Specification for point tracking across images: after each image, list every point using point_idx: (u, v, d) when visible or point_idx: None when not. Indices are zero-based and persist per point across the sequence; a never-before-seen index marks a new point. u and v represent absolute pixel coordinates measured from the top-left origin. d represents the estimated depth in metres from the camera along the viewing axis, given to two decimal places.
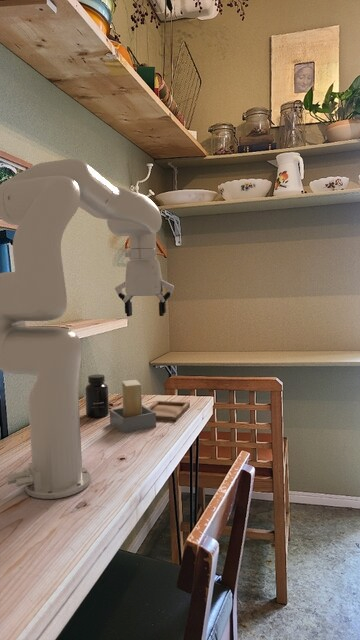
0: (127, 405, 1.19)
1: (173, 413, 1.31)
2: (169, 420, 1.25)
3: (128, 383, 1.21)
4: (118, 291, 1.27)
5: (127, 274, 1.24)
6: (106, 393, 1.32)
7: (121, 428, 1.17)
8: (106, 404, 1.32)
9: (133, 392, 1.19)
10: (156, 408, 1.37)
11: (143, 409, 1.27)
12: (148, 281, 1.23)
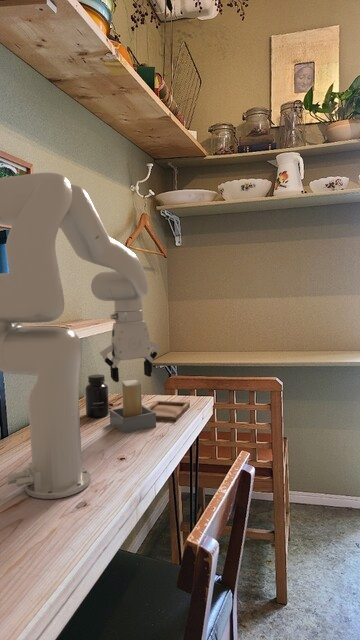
0: (127, 405, 1.19)
1: (173, 413, 1.31)
2: (169, 420, 1.25)
3: (128, 383, 1.21)
4: (105, 356, 1.17)
5: (119, 338, 1.17)
6: (106, 393, 1.32)
7: (121, 428, 1.17)
8: (106, 404, 1.32)
9: (133, 392, 1.19)
10: (156, 408, 1.37)
11: (143, 409, 1.27)
12: (141, 343, 1.20)
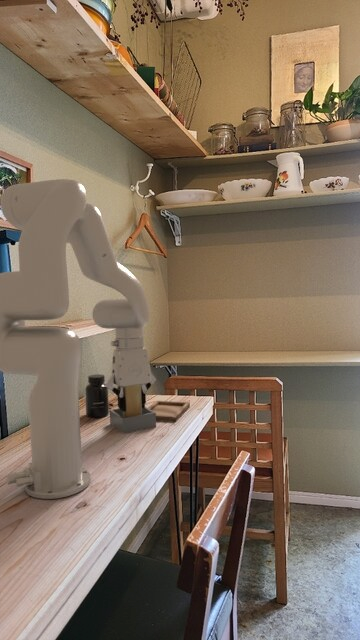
0: (127, 405, 1.19)
1: (173, 413, 1.31)
2: (169, 420, 1.25)
3: None
4: (111, 387, 1.19)
5: (120, 365, 1.17)
6: (106, 393, 1.32)
7: (121, 428, 1.17)
8: (106, 404, 1.32)
9: (133, 392, 1.19)
10: (156, 408, 1.37)
11: (143, 409, 1.27)
12: (141, 370, 1.20)
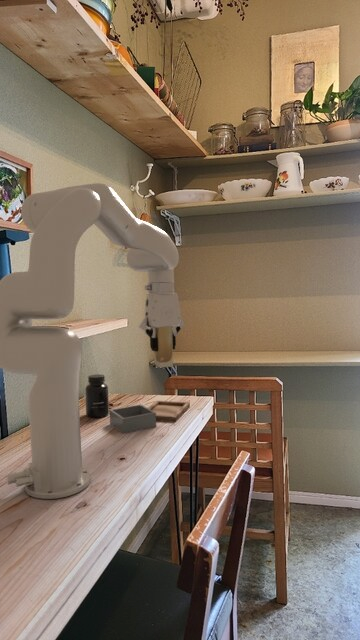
0: (159, 345, 1.28)
1: (173, 413, 1.31)
2: (169, 420, 1.25)
3: None
4: (145, 328, 1.28)
5: (153, 307, 1.26)
6: (106, 393, 1.32)
7: (121, 428, 1.17)
8: (106, 404, 1.32)
9: (165, 333, 1.28)
10: (156, 408, 1.37)
11: (143, 409, 1.27)
12: (172, 313, 1.29)
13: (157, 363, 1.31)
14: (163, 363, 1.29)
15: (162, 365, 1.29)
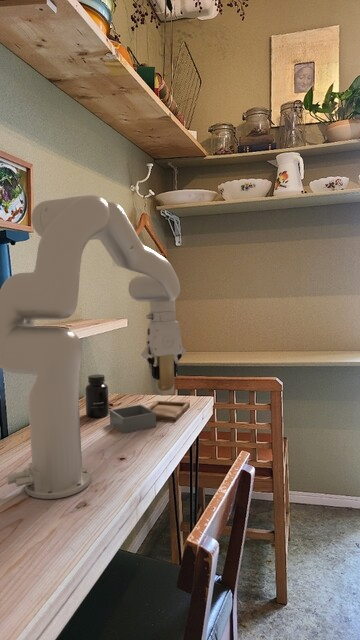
0: (161, 373, 1.29)
1: (173, 413, 1.31)
2: (169, 420, 1.25)
3: None
4: (146, 357, 1.29)
5: (155, 336, 1.27)
6: (106, 393, 1.32)
7: (121, 428, 1.17)
8: (106, 404, 1.32)
9: (166, 361, 1.29)
10: (156, 408, 1.37)
11: (143, 409, 1.27)
12: (174, 341, 1.30)
13: (159, 391, 1.32)
14: (165, 391, 1.30)
15: (164, 393, 1.30)
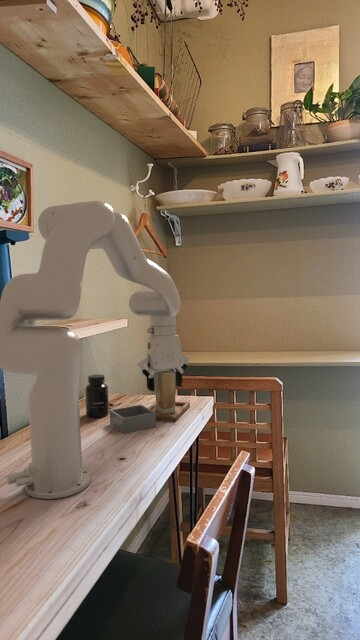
0: (163, 392, 1.30)
1: (173, 413, 1.31)
2: (169, 420, 1.25)
3: (163, 372, 1.32)
4: (142, 368, 1.28)
5: (155, 350, 1.28)
6: (106, 393, 1.32)
7: (121, 428, 1.17)
8: (106, 404, 1.32)
9: (168, 380, 1.30)
10: None
11: (143, 409, 1.27)
12: (174, 355, 1.31)
13: (159, 409, 1.32)
14: (166, 410, 1.30)
15: (165, 412, 1.30)
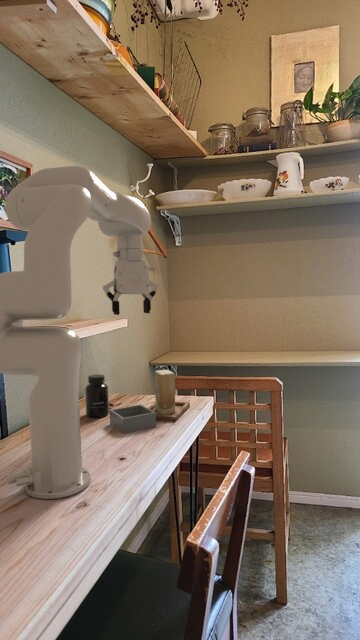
0: (162, 392, 1.30)
1: (173, 413, 1.31)
2: (169, 420, 1.25)
3: (162, 372, 1.31)
4: (107, 290, 1.27)
5: (120, 273, 1.27)
6: (106, 393, 1.32)
7: (121, 428, 1.17)
8: (106, 404, 1.32)
9: (168, 380, 1.30)
10: None
11: (143, 409, 1.27)
12: (140, 280, 1.30)
13: (159, 410, 1.32)
14: (166, 410, 1.30)
15: (165, 412, 1.30)
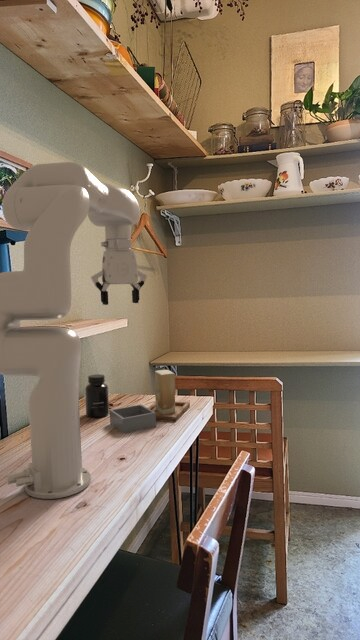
0: (162, 392, 1.30)
1: (173, 413, 1.31)
2: (169, 420, 1.25)
3: (162, 372, 1.31)
4: (96, 280, 1.28)
5: (109, 263, 1.27)
6: (106, 393, 1.32)
7: (121, 428, 1.17)
8: (106, 404, 1.32)
9: (168, 380, 1.30)
10: None
11: (143, 409, 1.27)
12: (129, 270, 1.30)
13: (159, 410, 1.32)
14: (166, 410, 1.30)
15: (165, 412, 1.30)
